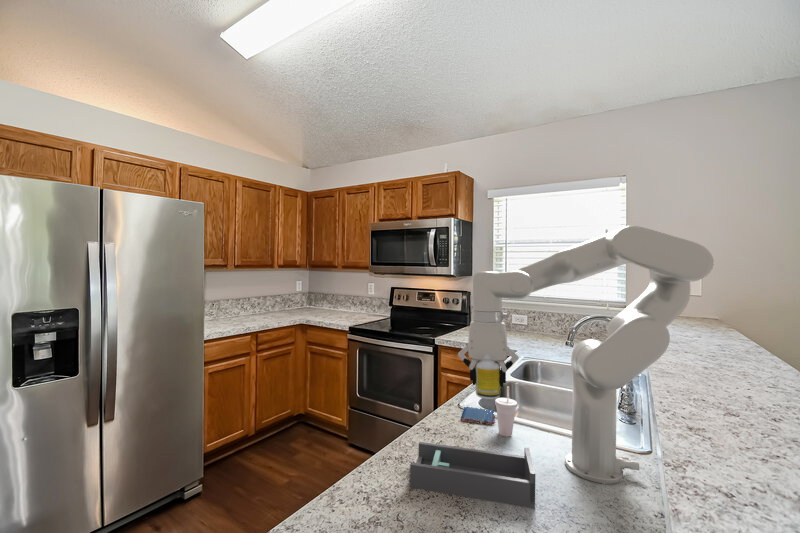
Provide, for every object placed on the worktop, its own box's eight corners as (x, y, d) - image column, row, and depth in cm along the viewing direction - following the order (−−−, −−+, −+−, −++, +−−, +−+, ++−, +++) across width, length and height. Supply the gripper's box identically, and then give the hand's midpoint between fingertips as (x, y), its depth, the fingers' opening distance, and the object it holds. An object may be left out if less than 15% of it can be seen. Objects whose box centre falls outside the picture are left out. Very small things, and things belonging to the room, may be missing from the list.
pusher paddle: (450, 464, 85) (450, 451, 85) (447, 483, 77) (447, 470, 77) (435, 462, 86) (436, 449, 86) (430, 481, 78) (431, 467, 78)
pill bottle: (501, 401, 90) (501, 355, 90) (475, 399, 91) (475, 354, 92) (499, 392, 96) (499, 350, 97) (475, 391, 98) (475, 349, 98)
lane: (528, 478, 82) (528, 448, 82) (534, 508, 72) (535, 474, 72) (419, 461, 88) (419, 433, 88) (409, 487, 78) (410, 455, 78)
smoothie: (519, 439, 102) (520, 390, 102) (497, 438, 102) (498, 390, 102) (512, 429, 108) (513, 383, 108) (492, 428, 108) (492, 383, 109)
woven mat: (494, 428, 110) (494, 421, 110) (460, 423, 113) (460, 416, 113) (495, 415, 120) (495, 409, 120) (464, 411, 123) (464, 405, 123)
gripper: (520, 316, 96) (520, 382, 96) (456, 314, 100) (456, 378, 100) (522, 320, 89) (523, 391, 88) (453, 318, 93) (453, 386, 92)
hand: (487, 384), depth 94 cm, fingers closed on pill bottle, 6 cm apart
